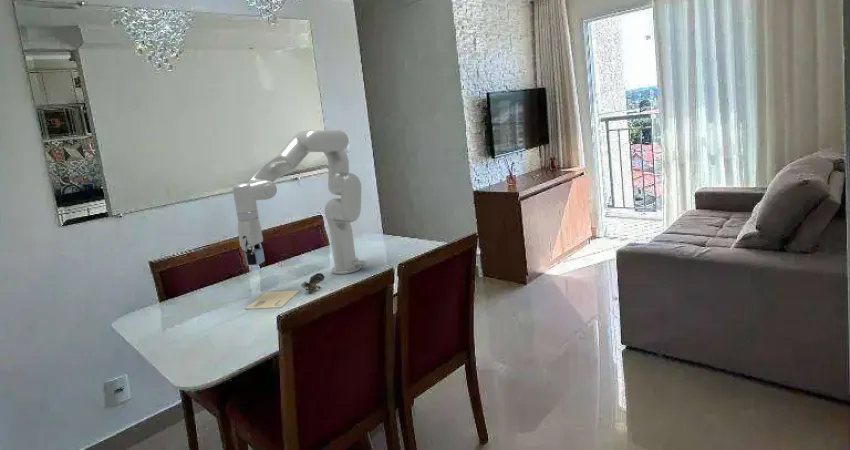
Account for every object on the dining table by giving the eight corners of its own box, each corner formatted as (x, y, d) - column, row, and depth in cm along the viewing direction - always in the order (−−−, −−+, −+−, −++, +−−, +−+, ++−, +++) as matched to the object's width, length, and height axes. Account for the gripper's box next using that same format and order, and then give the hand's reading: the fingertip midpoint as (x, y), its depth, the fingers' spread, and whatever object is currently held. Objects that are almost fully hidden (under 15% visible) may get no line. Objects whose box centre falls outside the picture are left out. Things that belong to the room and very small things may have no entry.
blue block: (265, 260, 212) (262, 248, 211) (259, 264, 207) (256, 251, 206) (253, 261, 213) (250, 249, 212) (246, 265, 208) (244, 252, 207)
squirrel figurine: (322, 291, 209) (329, 279, 217) (309, 277, 207) (317, 266, 215) (309, 301, 211) (316, 289, 220) (296, 288, 210) (303, 277, 218)
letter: (299, 290, 216) (299, 290, 216) (281, 307, 198) (281, 306, 198) (266, 292, 218) (266, 292, 218) (245, 309, 201) (245, 308, 201)
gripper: (249, 212, 215) (257, 256, 219) (226, 221, 198) (235, 269, 202) (267, 210, 213) (274, 255, 217) (245, 220, 197) (254, 268, 201)
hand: (255, 261), depth 210 cm, fingers closed on blue block, 5 cm apart
